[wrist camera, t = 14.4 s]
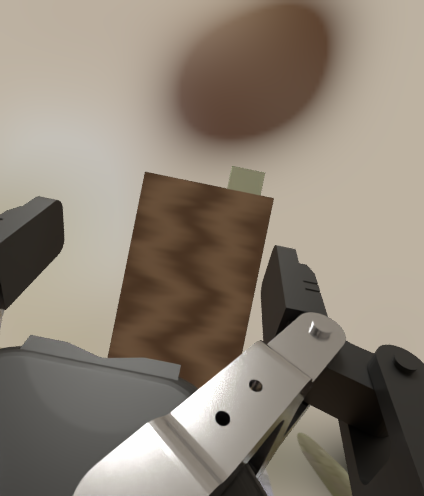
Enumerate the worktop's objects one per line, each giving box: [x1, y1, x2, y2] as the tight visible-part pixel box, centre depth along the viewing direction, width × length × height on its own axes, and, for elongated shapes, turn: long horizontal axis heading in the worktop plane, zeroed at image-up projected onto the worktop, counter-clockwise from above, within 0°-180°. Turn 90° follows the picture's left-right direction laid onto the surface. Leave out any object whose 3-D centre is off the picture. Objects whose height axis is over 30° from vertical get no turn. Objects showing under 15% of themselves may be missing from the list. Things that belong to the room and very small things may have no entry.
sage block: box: [227, 166, 265, 195], centre depth 42 cm, size 4×4×4 cm
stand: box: [108, 172, 274, 389], centre depth 39 cm, size 13×13×32 cm
